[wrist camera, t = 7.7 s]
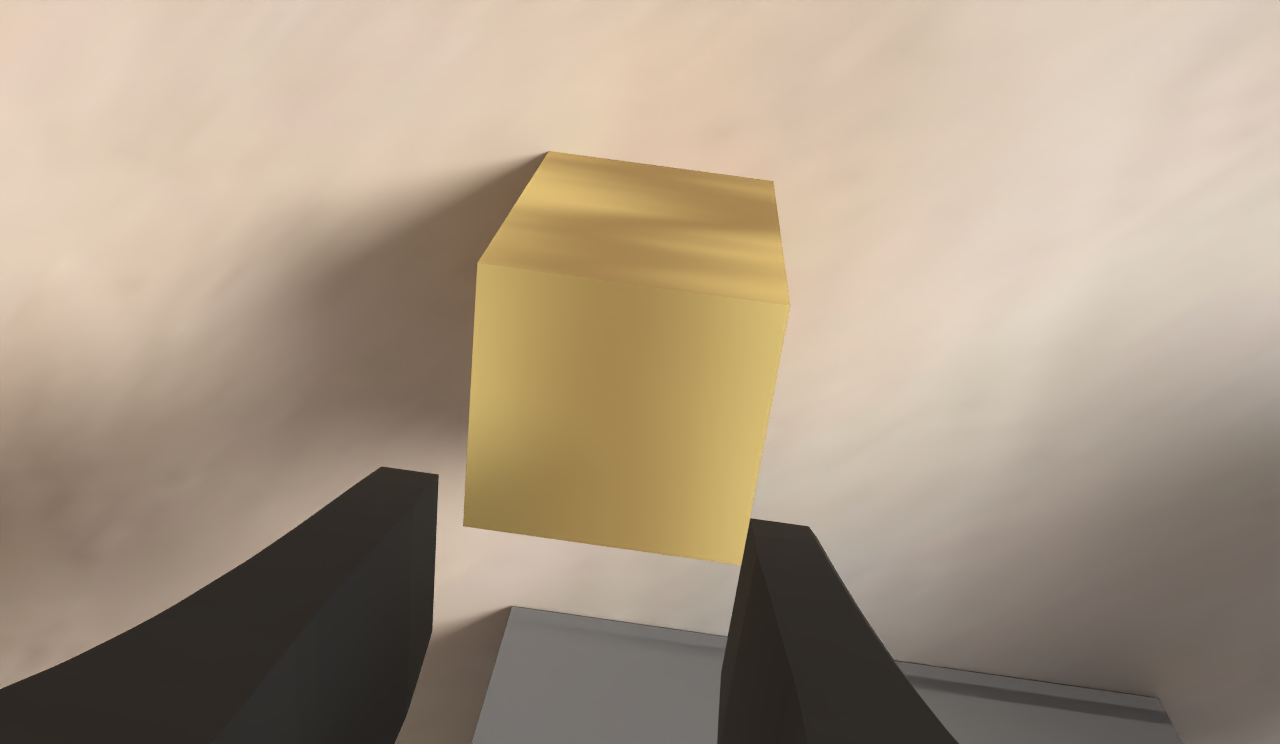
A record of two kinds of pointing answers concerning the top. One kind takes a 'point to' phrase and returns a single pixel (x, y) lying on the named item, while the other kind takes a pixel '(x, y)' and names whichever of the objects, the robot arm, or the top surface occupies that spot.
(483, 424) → the block
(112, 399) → the top surface
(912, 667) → the box
